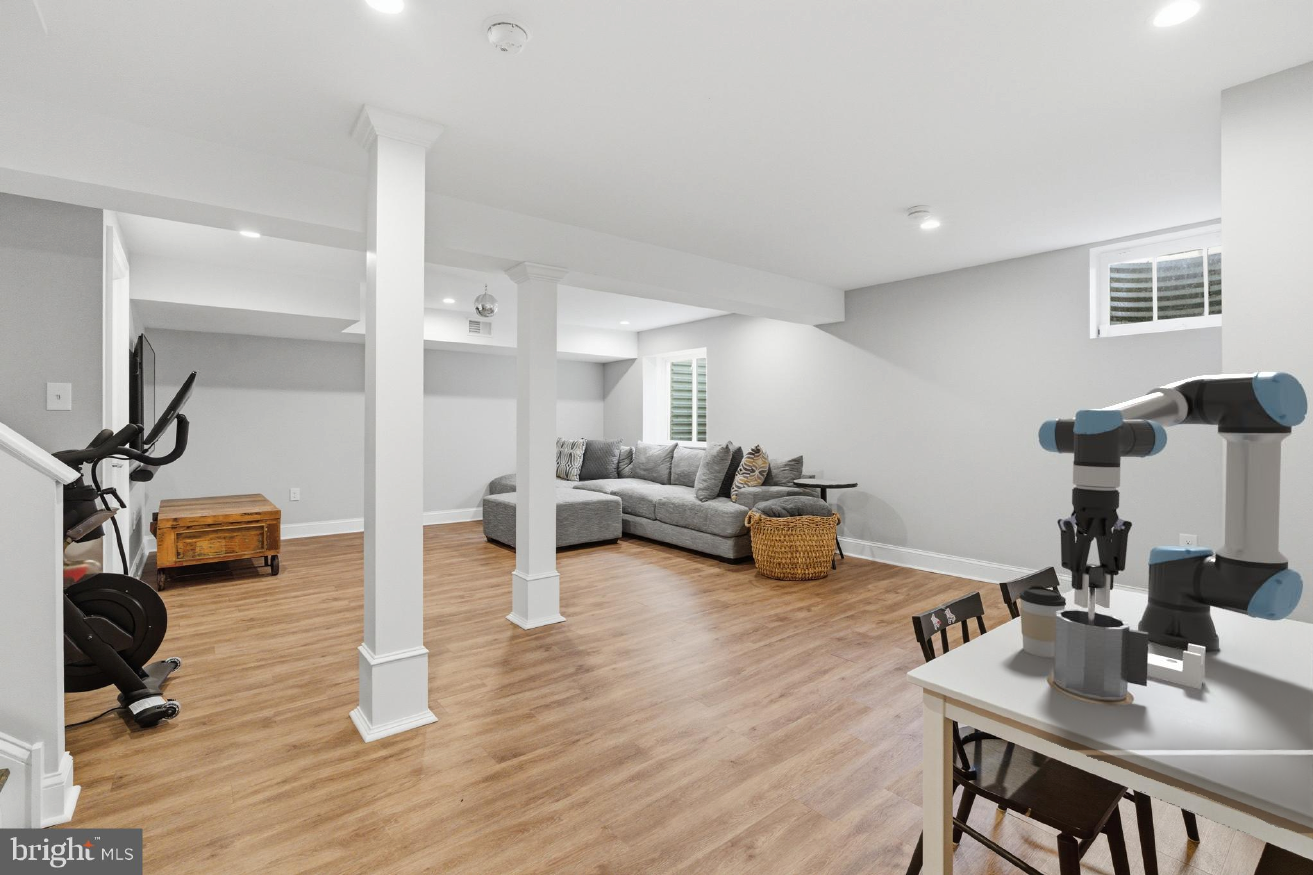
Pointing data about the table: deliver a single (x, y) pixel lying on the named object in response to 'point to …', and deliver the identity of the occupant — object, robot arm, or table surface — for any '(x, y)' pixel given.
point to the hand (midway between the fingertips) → (1091, 605)
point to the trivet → (1125, 702)
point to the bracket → (1180, 667)
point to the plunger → (1094, 582)
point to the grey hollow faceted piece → (1098, 656)
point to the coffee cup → (1039, 619)
